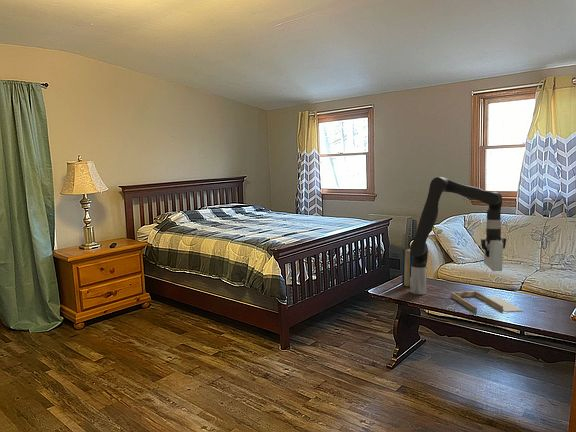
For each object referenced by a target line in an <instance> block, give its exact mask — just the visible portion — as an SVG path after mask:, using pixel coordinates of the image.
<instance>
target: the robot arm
mask: <svg viewBox="0 0 576 432" xmlns="http://www.w3.org/2000/svg"><path fill="white" fill-rule="evenodd" d="M443 192H444V193H453V194H456V195H458V196H459V195H460V196H462V197H464V198H467V199H471V200H475V201H478V202H482V203H483V204H486V205H488V209H487V212H486V224H485V225H486V226H485V228H486V229H485V230H486V232H485V233H486V236H485V237H486V239H485V238H481V239H480V244H481V249H482V250H485V255H486V257H489V249H490V240H499V241H501V242H502V243H503V250H504V249H506V245H507V238H505V237H502V221H501V220H502V219H501V217H502V214H501V210H502V205H503V195H502V194H501V193H500V192H498V191H488V190H484V189H483V188H480V187H476V186H472V185H468V184H467V185H466V184H462V183H458V182H456V181H453V180H450V179H448V178H446V177H444V176H437V177H434V178H433V179H431V181H430V184H429V187H428V193H427V197H426V200H425V203H424V207H423V209H422V212H421V215H420V217H419V221H418V224H417V228H416V233H415V234H414V235H415V236H414V237H413V240H412V242H411V245H410V246H409V248H410V252H411V254H412V255H413V259H412V262H411V277H410V286H409V292H410V293H411V294H412V295H425V294H426V293H427V263H428V255H429V254H428V253H429V252H428V251H429V248H428V244H427V240H428V237H429V235H430V234H431V232H432V230H433V228H434V227H435V224H436V222H437V218H438V215H439V202H440V199H441V196H442V194H443ZM486 241H487V244H485V243H486Z"/></svg>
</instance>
